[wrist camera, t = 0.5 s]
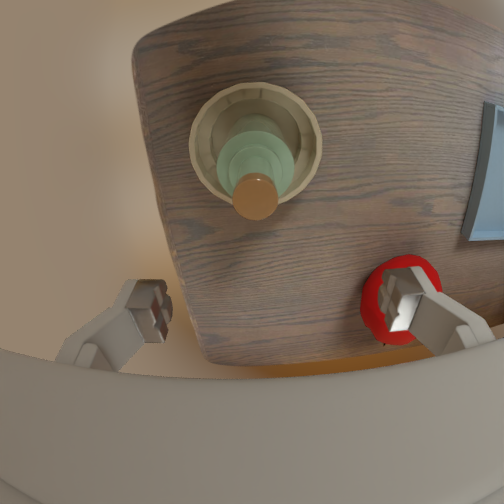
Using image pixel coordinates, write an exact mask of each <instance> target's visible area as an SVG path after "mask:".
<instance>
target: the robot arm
mask: <svg viewBox="0 0 504 504" xmlns="http://www.w3.org/2000/svg"><path fill="white" fill-rule="evenodd" d="M382 280H383V282H384V283H383V284H382V285H381V286H380V287H379V290H378V305H379V308H380V311H381V312H383V313H384V314H386V315H385V318H384V320H385V323H386V325H387V328H388V330H389V332H395V331H404V330H409V332H410V333H411V334H412V335H414V336H415V337H416V338H417V339H418V340H419V341H420V342H421V343H422V344H423V345H424V346H426V347H427V348H428V349H429V350H430V351H431V352H432V353H433V354H434V355H435V356H436V357H431V358H427V359H423V360H417V361H412V362H407V363H402V364H397V365H391V366H385V367H379V368H372V369H366V370H358V371H351V372H343V373H334V374H324V375H313V376H302V377H286V378H263V379H200V378H199V379H198V378H177V377H162V376H150V375H139V374H129V373H121V372H118V371H119V370H120V369H121V368H122V367H123V366H124V365H125V364H126V363H127V361H128V360H129V359H130V358H131V357H132V356H133V355H134V354H135V353H136V352H137V351H138V350H139V349H140V348H141V347H142V346H143V345H144V343H165V340H166V336H167V333H168V328H167V324H168V323H169V322H170V321H171V318H172V311H173V307H172V301H171V298H170V296H168V295H167V294H166V291H167V285H166V282H165V281H164V280H154V279H153V280H152V279H151V280H150V279H147V280H145V279H140V280H127V281H125V283H124V285H123V287H122V289H121V291H120V293H119V295H118V297H117V299H116V300H115V302H114V305H113V307H112V308H108V309H106V310H105V311H103V312H102V313H101V314H99V315H98V316H96V317H95V318H94V319H92V320H91V321H90V322H88V323H87V324H85V325H84V326H83V327H82V328H80V329H79V330H77V331H76V332H75V333H73V334H72V335H71V336H69V337H68V338H67V339H65V341H64V343H63V345H62V347H61V349H60V351H59V353H58V355H57V357H56V359H55V361H54V362H53V361H48V360H44V359H39V358H35V357H30V356H27V355H23V354H19V353H15V352H11V351H8V350H4V349H1V348H0V504H504V337H503V338H500V339H497V340H496V338H495V336H494V335H493V333H492V331H491V330H490V328H489V326H488V325H487V323H486V321H485V320H484V319H483V318H482V317H480V316H479V315H477V314H475V313H474V312H472V311H471V310H469V309H467V308H466V307H464V306H463V305H461V304H460V303H458V302H456V301H455V300H453V299H451V298H450V297H448V296H446V295H445V294H443V293H442V292H437V291H436V289H435V288H434V286H433V284H432V283H431V281H430V280H429V278H428V277H427V275H426V274H425V272H424V271H423V269H422V268H421V267H420V266H414V267H407V268H396V269H385V270H384V272H383V274H382Z"/></svg>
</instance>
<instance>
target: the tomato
mask: <svg viewBox="0 0 504 504" xmlns="http://www.w3.org/2000/svg"><path fill="white" fill-rule="evenodd" d="M414 266H420V267H421V268H422V269H423V271H424V272H425V274H426V275H427V277H428V278H429V280H430V281H431V283H432V284H433V286H434V288H435V289H436V291H437V292H442V286H441V282H440V279H439V275H438V273H437V271H436V270H435V269H434V268H433V267H432V266H431V264H430V263H429V262H428V261H427V260H425V259H423V258H422V257H420V256H416V255H410V254H408V255H403V256H399V257H395V258H392V259H391V260H389V261H387V262H385V263H383V264H382V265H380V266H378V267H377V268H376V269H375V270H374V271H373V272H372V273H371V275H370V276H369V278H368V280H367V281H366V283H365V285H364V287H363V291H362V298H361V306H360V312H361V316H362V319H363V321H364V323H365V326H366V327H368V328H370V329H371V331H372V333H373V334H374V336H375V338H376V340H378V341H380V342H382V343H384V345H385V344H390V345H404V344H408V343H409V342H411V341H413V340H414V339H416V337H415V336H414V335H412V334H411V333H410V332H409V330H404V331H395V332H389V330H388V328H387V325H386V323H385V320H384V318H385V315H386V314H384V313H383V312H381V311H380V308H379V305H378V290H379V287H380V286H381V285H382V284H383V283H384V282H383V280H382V274H383V272H384V270H385V269H396V268H407V267H414ZM384 345H383V346H384Z"/></svg>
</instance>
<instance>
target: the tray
mask: <svg viewBox="0 0 504 504" xmlns="http://www.w3.org/2000/svg"><path fill="white" fill-rule="evenodd" d="M461 233H462V234H463V235H464V236H465V237H466V238H467V240H468V241H480V240H504V107H501V106H498V105H495V104H492V103H489V102H485V101H484V113H483V124H482V133H481V141H480V148H479V154H478V161H477V166H476V172H475V177H474V182H473V187H472V191H471V196H470V200H469V204H468V208H467V212H466V216H465V219H464V223H463V227H462V230H461Z"/></svg>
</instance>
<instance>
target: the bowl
mask: <svg viewBox="0 0 504 504" xmlns="http://www.w3.org/2000/svg"><path fill="white" fill-rule="evenodd" d="M252 113H259V114H264V115H267V116H269V117H270V118H272V119H273V120H274V121H275V122H276V123H277V124H278V125H279V127H280V129H281V131H282V133H283V135H284V138H285V140H286V142H287V144H288V146H289V149H290V151H291V153H292V156H293V159H294V166H295V169H294V176H293V179H292V182H291V184H290V185H289V187H288V188H287V190H286V191H285V192H284V193H283V194H282V195H280V196H279V197H278V198H279V200H278V204H280V203H283V202H286V201H288V200H289V199H291V198H292V197H294V196H295V195H297V194H298V193H299V192H301V191H302V190H304V188H305V187H306V186H307V185H308V183H309V182H310V181H311V179H312V178H313V177H314V176H315V174H316V171H317V168H318V166H319V163H320V160H321V157H322V134H321V131H320V128H319V125H318V122H317V119H316V117H315V115H314V114H313V112H312V111H311V110H310V109H309V107H308V106H307V105H306V103H305V102H304V101H303V100H302V99H301V98H299V97H298V96H296V95H295V94H293V93H292V92H290V91H289V90H287V89H286V88H284V87H281V86H277V85H274V84H270V83H266V82H261V81H260V82H243V83H239V84H237V85H234V86H232V87H229V88H227V89H224V90H222V91H220V92H218V93H217V94H216V95H215V96H213V97H212V98H211V99H210V100H209V101H207V102H206V103H205V104H204V105H203V106H202V108H201V109H200V111H199V113H198V114H197V116H196V118H195V120H194V121H193V124H192V127H191V132H190V137H189V142H188V145H189V152H190V160H191V164H192V166H193V168H194V170H195V172H196V174H197V176H198V178H199V180H200V181H201V182H202V183H203V184H204V185H205V186H206V187H207V188H208V189H209V190H210V191H211V192H212V193H213V194H214V195H216V196H217V197H219V198H221V199H223V200H225V201H226V202H228V203H230V204H233V202H232V196H231V195H230V194H228V193H227V192H226V191H225V189H224V188H223V187H222V185H221V183H220V181H219V179H218V176H217V168H216V166H217V159H218V156H219V153H220V151H221V149H222V146H223V144H224V142H225V140H226V138H227V136H228V133H229V131H230V129H231V127H232V125H233V124H234V123H235V122H236V121H237V120H238V119H239V118H241V117H242V116H245V115H247V114H252Z"/></svg>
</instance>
